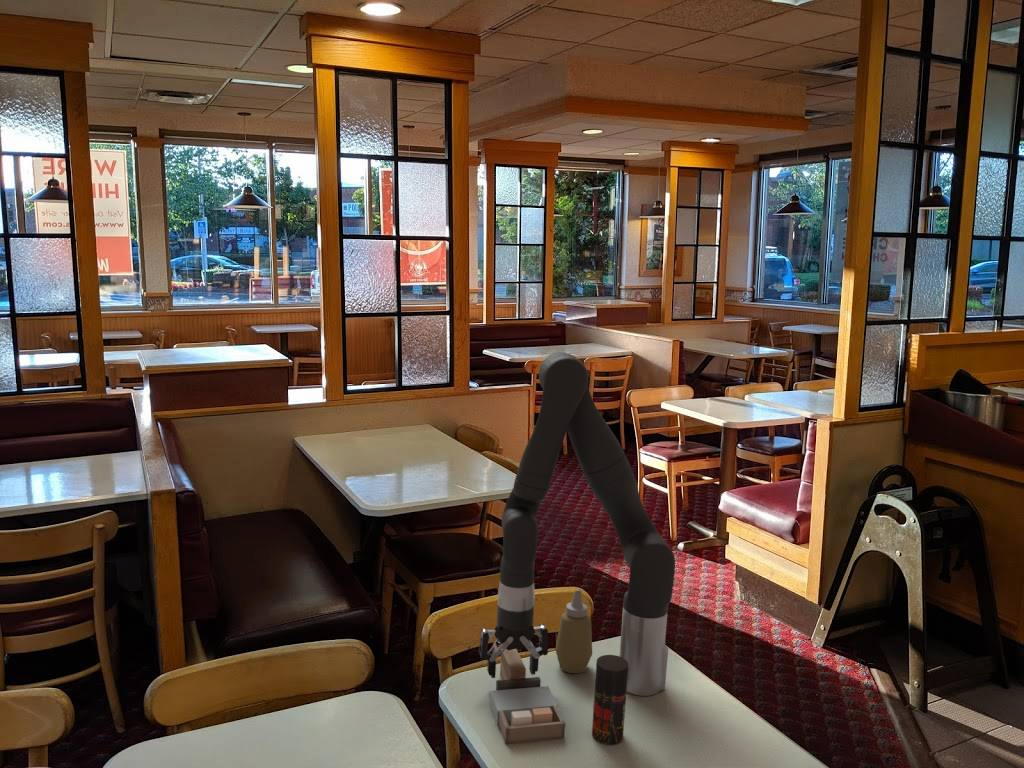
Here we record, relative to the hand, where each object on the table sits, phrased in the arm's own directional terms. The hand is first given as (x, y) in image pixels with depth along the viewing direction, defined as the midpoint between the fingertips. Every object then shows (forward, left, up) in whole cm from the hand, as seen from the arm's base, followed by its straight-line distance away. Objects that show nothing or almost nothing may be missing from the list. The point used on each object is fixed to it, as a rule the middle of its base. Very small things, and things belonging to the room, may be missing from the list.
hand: (512, 674), depth 169 cm
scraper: (0, 0, -3) cm, 3 cm away
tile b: (+2, +16, 0) cm, 16 cm away
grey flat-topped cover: (0, +10, -2) cm, 10 cm away
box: (0, +16, -2) cm, 16 cm away
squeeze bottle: (-15, -5, -3) cm, 16 cm away
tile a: (-2, +15, 0) cm, 15 cm away
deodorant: (-14, +20, -3) cm, 25 cm away
